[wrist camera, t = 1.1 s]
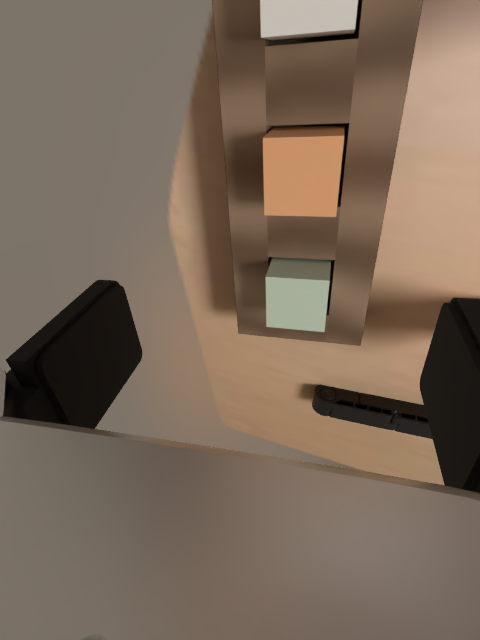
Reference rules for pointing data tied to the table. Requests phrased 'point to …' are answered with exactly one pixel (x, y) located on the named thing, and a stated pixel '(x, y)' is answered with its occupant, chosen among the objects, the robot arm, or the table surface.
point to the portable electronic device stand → (372, 410)
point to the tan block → (302, 170)
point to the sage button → (297, 293)
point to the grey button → (306, 18)
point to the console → (311, 111)
